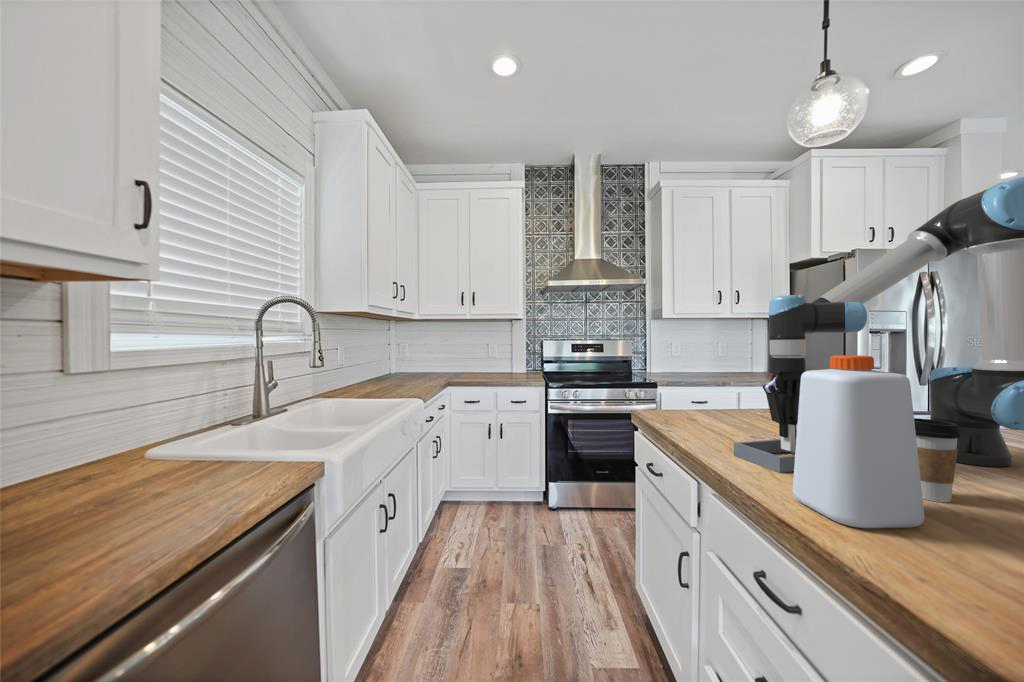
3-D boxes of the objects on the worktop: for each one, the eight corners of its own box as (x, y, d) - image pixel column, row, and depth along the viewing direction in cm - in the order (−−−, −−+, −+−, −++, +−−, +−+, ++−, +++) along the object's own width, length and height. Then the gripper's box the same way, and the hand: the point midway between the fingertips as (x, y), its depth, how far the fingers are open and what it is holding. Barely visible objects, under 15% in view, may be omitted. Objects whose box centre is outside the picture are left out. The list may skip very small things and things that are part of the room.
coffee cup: (887, 487, 82) (886, 415, 82) (933, 489, 81) (932, 415, 81) (923, 504, 74) (922, 423, 74) (975, 506, 72) (975, 424, 72)
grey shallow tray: (790, 450, 109) (790, 438, 109) (842, 466, 95) (842, 452, 95) (733, 455, 105) (733, 442, 105) (779, 473, 91) (779, 457, 91)
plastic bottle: (940, 530, 64) (938, 357, 64) (847, 532, 64) (846, 358, 63) (857, 493, 79) (855, 353, 79) (782, 495, 79) (780, 354, 79)
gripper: (794, 355, 105) (795, 444, 105) (753, 356, 102) (754, 447, 103) (822, 356, 98) (823, 452, 98) (778, 357, 95) (779, 455, 95)
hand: (787, 449), depth 100 cm, fingers closed
